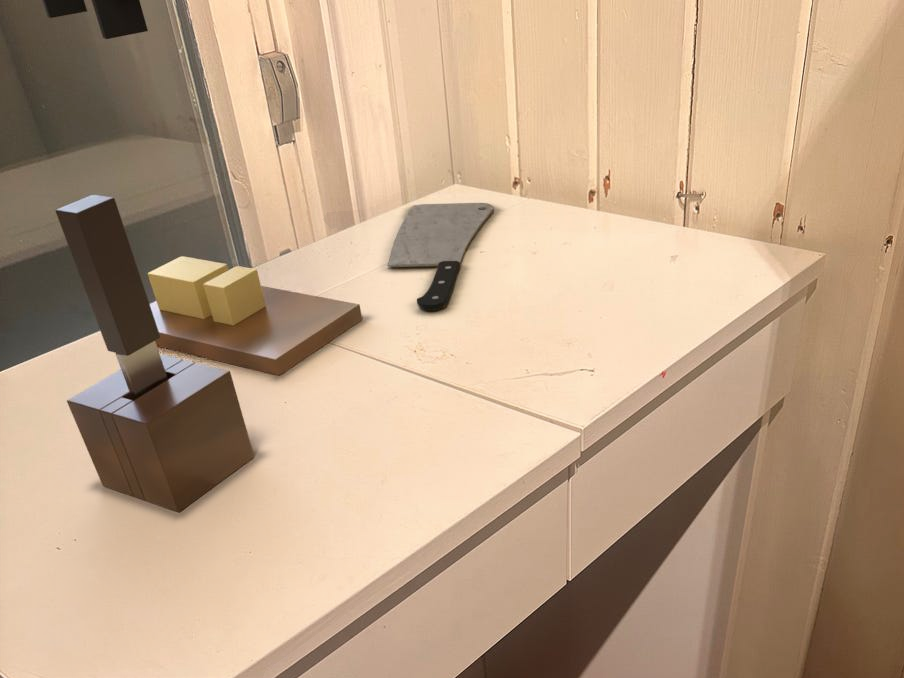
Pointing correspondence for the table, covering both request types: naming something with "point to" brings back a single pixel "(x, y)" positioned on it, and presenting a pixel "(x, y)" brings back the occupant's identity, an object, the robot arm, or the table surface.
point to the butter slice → (234, 295)
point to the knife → (114, 289)
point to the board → (261, 331)
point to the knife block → (164, 433)
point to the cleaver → (437, 243)
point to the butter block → (185, 285)
